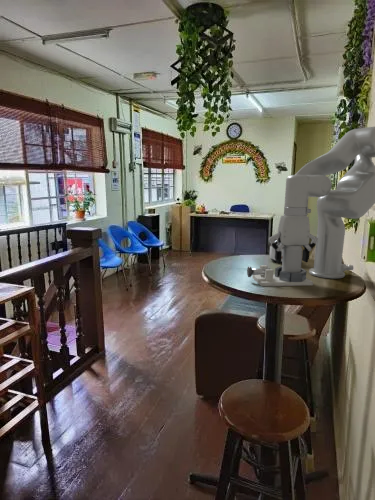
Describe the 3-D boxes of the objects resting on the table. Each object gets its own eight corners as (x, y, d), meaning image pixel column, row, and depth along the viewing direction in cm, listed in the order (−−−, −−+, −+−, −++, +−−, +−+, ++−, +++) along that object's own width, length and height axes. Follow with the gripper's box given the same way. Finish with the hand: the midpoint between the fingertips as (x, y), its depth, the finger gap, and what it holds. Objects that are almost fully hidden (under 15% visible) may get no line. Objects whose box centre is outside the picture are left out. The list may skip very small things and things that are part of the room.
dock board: (299, 277, 126) (301, 263, 125) (312, 285, 117) (314, 270, 116) (252, 277, 124) (253, 264, 123) (261, 286, 114) (262, 271, 113)
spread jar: (269, 263, 148) (271, 236, 145) (268, 257, 159) (270, 232, 156) (298, 264, 146) (300, 237, 143) (295, 259, 157) (297, 233, 154)
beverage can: (301, 281, 117) (303, 246, 115) (281, 279, 118) (284, 245, 116) (299, 276, 123) (301, 243, 121) (280, 274, 124) (283, 242, 122)
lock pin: (267, 275, 121) (268, 265, 121) (271, 278, 118) (272, 267, 117) (246, 275, 120) (247, 265, 120) (249, 278, 117) (250, 268, 116)
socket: (297, 274, 126) (298, 266, 125) (309, 281, 116) (310, 273, 116) (271, 274, 125) (272, 266, 124) (282, 282, 115) (283, 273, 115)
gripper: (314, 211, 121) (310, 259, 124) (266, 211, 119) (263, 259, 122) (325, 213, 113) (320, 263, 117) (274, 213, 111) (271, 264, 115)
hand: (291, 261), depth 119 cm, fingers open, 9 cm apart
